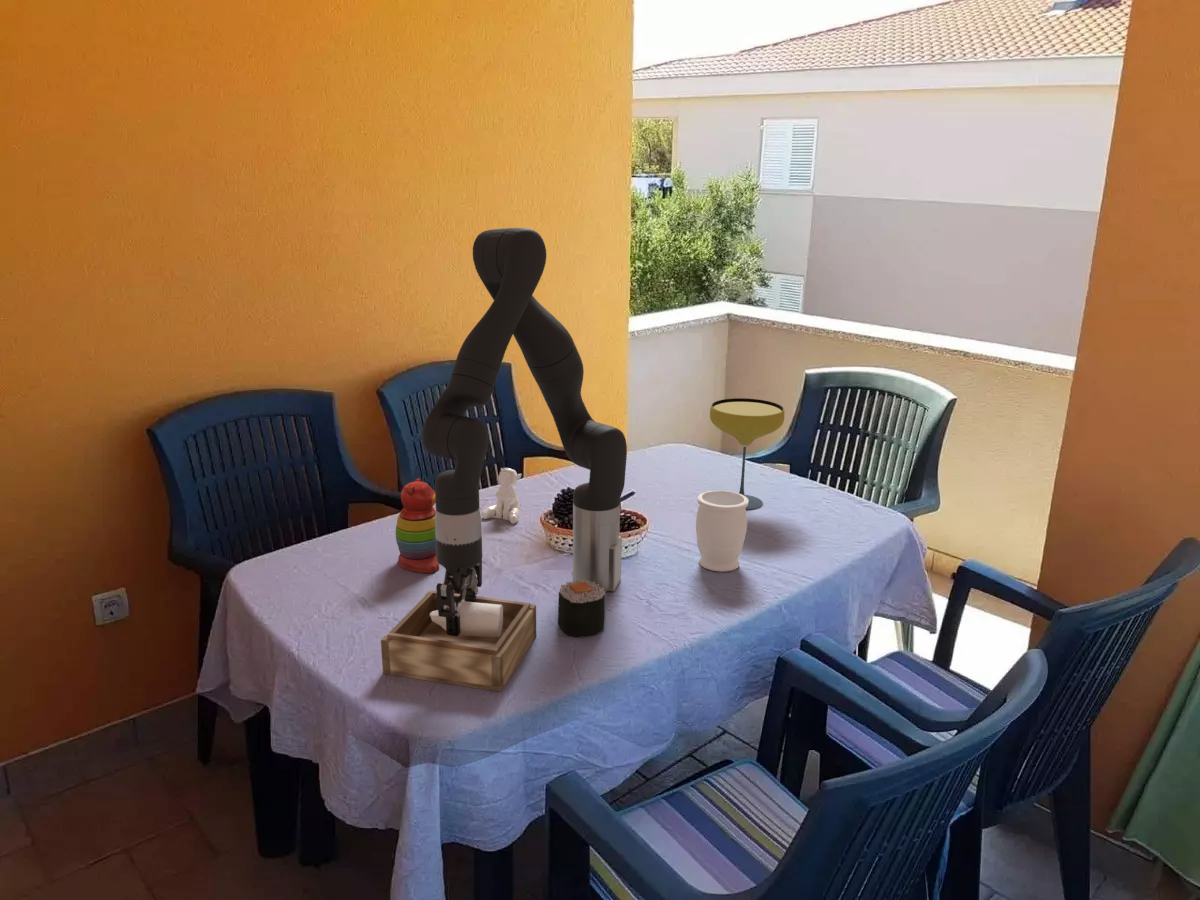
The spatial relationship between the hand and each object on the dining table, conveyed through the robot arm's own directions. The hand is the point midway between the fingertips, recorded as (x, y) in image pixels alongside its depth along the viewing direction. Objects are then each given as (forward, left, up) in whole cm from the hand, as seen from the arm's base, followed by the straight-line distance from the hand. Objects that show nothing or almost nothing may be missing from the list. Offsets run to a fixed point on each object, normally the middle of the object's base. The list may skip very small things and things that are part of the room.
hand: (462, 624), depth 150 cm
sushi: (-17, -15, -6) cm, 23 cm away
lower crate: (0, 0, -6) cm, 6 cm away
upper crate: (0, 0, -6) cm, 6 cm away
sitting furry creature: (+15, -63, -6) cm, 65 cm away
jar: (-38, -49, -6) cm, 62 cm away
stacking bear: (+23, -33, -6) cm, 41 cm away
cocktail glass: (-39, -88, -6) cm, 96 cm away
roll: (-1, 0, -2) cm, 2 cm away
